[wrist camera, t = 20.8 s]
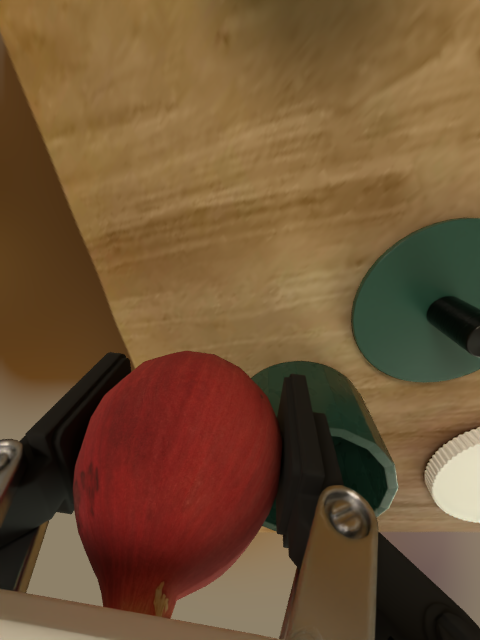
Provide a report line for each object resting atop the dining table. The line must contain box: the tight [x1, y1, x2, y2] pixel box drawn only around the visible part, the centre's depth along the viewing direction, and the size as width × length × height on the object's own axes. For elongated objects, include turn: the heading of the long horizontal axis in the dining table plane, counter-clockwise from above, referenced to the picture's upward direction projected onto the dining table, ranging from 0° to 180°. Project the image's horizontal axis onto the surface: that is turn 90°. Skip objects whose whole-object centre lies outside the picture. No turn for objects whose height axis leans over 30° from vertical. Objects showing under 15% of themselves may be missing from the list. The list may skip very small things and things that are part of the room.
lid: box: [351, 218, 480, 382], centre depth 21 cm, size 15×15×6 cm
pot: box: [251, 361, 398, 531], centre depth 26 cm, size 14×14×8 cm
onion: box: [73, 351, 282, 619], centre depth 8 cm, size 6×6×8 cm
